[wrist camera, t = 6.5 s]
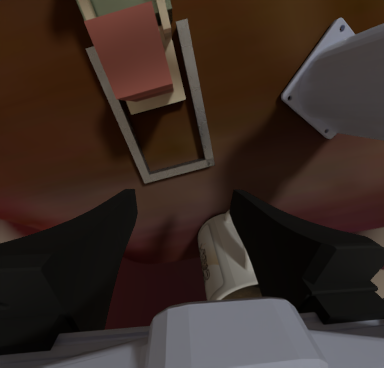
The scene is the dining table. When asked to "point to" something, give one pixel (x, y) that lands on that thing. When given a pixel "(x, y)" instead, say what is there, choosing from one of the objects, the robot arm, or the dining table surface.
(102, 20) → the carriage
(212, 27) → the dining table surface
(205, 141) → the track
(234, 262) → the mug
